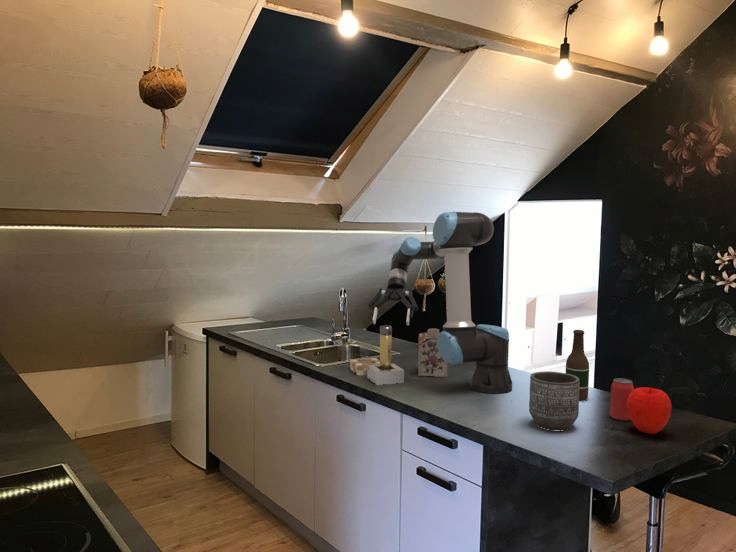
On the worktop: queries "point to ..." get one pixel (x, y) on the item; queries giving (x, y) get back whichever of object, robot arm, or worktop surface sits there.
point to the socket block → (385, 374)
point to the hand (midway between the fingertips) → (390, 322)
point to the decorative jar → (430, 355)
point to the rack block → (362, 365)
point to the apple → (649, 409)
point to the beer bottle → (579, 364)
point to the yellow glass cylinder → (385, 347)
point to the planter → (554, 399)
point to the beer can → (620, 398)
